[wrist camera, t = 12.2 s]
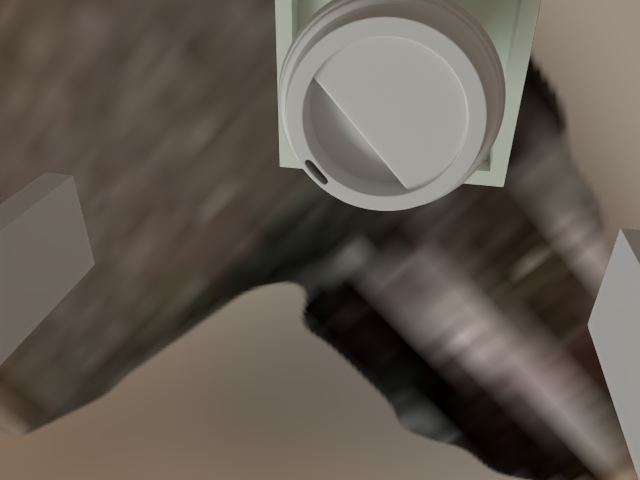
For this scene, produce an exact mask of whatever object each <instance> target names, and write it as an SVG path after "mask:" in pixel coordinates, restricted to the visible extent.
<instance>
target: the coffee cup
mask: <svg viewBox="0 0 640 480" xmlns="http://www.w3.org/2000/svg"><path fill="white" fill-rule="evenodd" d="M505 100H506V88H505V78H504V72H503V68H502V64H501V61H500V58H499V55H498V53H497V50H496V48H495V46H494V44H493V42H492V40H491V39H490V37H489V35H488V34H487V32H486V31H485V29H484V28H483V27H482V25H481V24H480V23H479V22H478V21H477V20H476V19H475V18H474V17H473V16H472V15H471V14H470V13H469V12H468V11H467V10H466V9H465V8H463V7H462V6H461V5H459V4H458V3H456V2H455V1H453V0H332V1H330V2H328V3H327V4H326V5H324V6H323V7H322V8H320V9H319V10H318V11H317V12H316V13H314V14H313V15H312V16H311V17H310V18H309V19H308V20H307V22H306V23H305V24H304V25H303V26H302V28H301V29H300V30H299V32H298V33H297V35H296V36H295V38H294V39H293V41H292V43H291V45H290V47H289V49H288V51H287V54H286V56H285V59H284V62H283V65H282V69H281V73H280V79H279V88H278V106H279V115H280V121H281V125H282V129H283V132H284V135H285V138H286V140H287V143H288V145H289V147H290V149H291V151H292V153H293V155H294V156H295V158H296V160H297V161H298V163H299V164H300V165H301V167H302V168H303V169H304V170H305V172H306V173H307V174H308V175H309V176H310V177H311V178H312V179H313V180H314V181H315V182H316V183H317V184H318V185H319V186H320V187H322V188H323V189H324V190H325V191H327V192H328V193H330V194H331V195H333V196H334V197H336V198H338V199H340V200H342V201H344V202H346V203H349V204H351V205H354V206H358V207H361V208H366V209H371V210H380V211H394V210H403V209H408V208H413V207H416V206H420V205H423V204H426V203H429V202H432V201H434V200H436V199H439V198H441V197H443V196H444V195H446V194H448V193H450V192H451V191H453V190H454V189H456V188H457V187H459V186H460V185H461V184H462V183H464V182H465V181H466V180H467V179H468V178H469V177H470V176H471V175H472V174H473V173H474V172H475V171H476V170H477V169H478V167H479V166H480V165H481V164H482V162H483V161H484V160H485V158H486V156H487V155H488V153H489V152H490V150H491V148H492V146H493V144H494V142H495V140H496V138H497V136H498V133H499V130H500V127H501V124H502V120H503V116H504V110H505Z"/></svg>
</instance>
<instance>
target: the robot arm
mask: <svg viewBox="0 0 640 480" xmlns="http://www.w3.org/2000/svg"><path fill="white" fill-rule="evenodd" d="M94 265H95V264H94V260H93V256H92V252H91V248H90V244H89V240H88V235H87V231H86V227H85V223H84V219H83V215H82V211H81V207H80V203H79V199H78V195H77V191H76V187H75V183H74V179H73V175H65V174H55V173H44V174H43V175H41V176H40V177H38V178H37V179H36V180H34V181H33V182H31V183H30V184H29V185H27V186H26V187H24V188H23V189H21V190H20V191H19V192H17V193H16V194H14V195H13V196H12V197H10V198H9V199H7V200H6V201H4V202H3V203H2V204H0V365H1V364H2V363H3V362H4V361H5V360H6V359H7V358H8V357H9V356H10V354H11V353H12V352H13V351H14V350H15V349H16V348H17V347H18V346H19V345H20V344H21V343H22V342H23V341H24V339H25V338H26V337H27V336H28V335H29V334H30V333H31V332H32V331H33V330H34V329H35V328H36V327H37V326H38V325H39V323H40V322H41V321H42V320H43V319H44V318H45V317H46V316H47V315H48V314H49V313H50V312H51V311H52V310H53V308H54V307H55V306H56V305H57V304H58V303H59V302H60V301H61V300H62V299H63V298H64V297H65V296H66V295H67V293H68V292H69V291H70V290H71V289H72V288H73V287H74V286H75V285H76V284H77V283H78V282H79V281H80V280H81V279H82V277H83V276H84V275H85V274H86V273H87V272H88V271H89V270H90V269H91V268H92V267H93V266H94ZM588 328H589V331H590V334H591V337H592V340H593V343H594V346H595V349H596V352H597V355H598V358H599V361H600V364H601V367H602V370H603V373H604V376H605V379H606V382H607V385H608V388H609V391H610V394H611V397H612V400H613V403H614V406H615V409H616V412H617V415H618V418H619V421H620V424H621V427H622V430H623V433H624V436H625V439H626V442H627V445H628V449H629V452H630V455H631V458H632V461H633V464H634V467H635V470H636V473H637V476H638V479H639V480H640V230H633V229H622V228H621V229H620V232H619V235H618V238H617V241H616V243H615V246H614V249H613V252H612V255H611V258H610V261H609V264H608V267H607V269H606V272H605V275H604V278H603V281H602V284H601V287H600V290H599V293H598V296H597V299H596V302H595V304H594V307H593V310H592V313H591V316H590V319H589V322H588Z"/></svg>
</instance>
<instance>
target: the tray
mask: <svg viewBox="0 0 640 480" xmlns="http://www.w3.org/2000/svg"><path fill="white" fill-rule="evenodd" d="M330 1H332V0H275V12H276V47H277V82H278V88H279V79H280V73H281V69H282V65H283V62H284V59H285V56H286V54H287V51H288V49H289V47H290V45H291V43H292V41H293V39H294V38H295V36H296V35H297V33H298V32H299V30H300V29H301V28H302V26H303V25H304V24H305V23H306V22H307V20H308V19H309V18H310V17H311V16H312V15H313V14H314V13H316V12H317V11H318V10H319V9H320V8H322V7H323V6H324V5H326V4H327V3H328V2H330ZM453 1H455V2H456V3H458V4H459V5H461V6H462V7H463V8H465V9H466V10H467V11H468V12H469V13H470V14H471V15H472V16H473V17H474V18H475V19H476V20H477V21H478V22H479V23H480V24H481V25H482V27H483V28H484V29H485V31H486V32H487V34H488V35H489V37H490V39H491V40H492V42H493V44H494V46H495V48H496V50H497V53H498V55H499V58H500V61H501V64H502V68H503V72H504V78H505V88H506V100H505V110H504V116H503V120H502V124H501V127H500V130H499V133H498V136H497V138H496V140H495V142H494V144H493V146H492V148H491V150H490V152H489V153H488V155H487V156H486V158H485V160H484V161H483V162H482V164H481V165H480V166H479V167H478V169H477V170H476V171H475V172H474V173H473V174H472V175H471V176H470V177H469V178H468V179H467V180H466V181H465V182H464V183H466V184H477V185H488V186H499V187H503V186H504V181H505V176H506V171H507V166H508V162H509V157H510V152H511V147H512V142H513V137H514V132H515V127H516V122H517V117H518V112H519V107H520V102H521V97H522V92H523V88H524V83H525V78H526V73H527V68H528V63H529V58H530V53H531V48H532V43H533V38H534V33H535V28H536V23H537V18H538V13H539V8H540V3H541V0H453ZM278 117H279V152H280V167H290V168H301V169H303V168H302V167H301V165H300V164H299V163H298V161H297V160H296V158H295V156H294V155H293V153H292V151H291V149H290V147H289V145H288V143H287V140H286V138H285V135H284V132H283V129H282V125H281V121H280V115H279V106H278Z"/></svg>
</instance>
